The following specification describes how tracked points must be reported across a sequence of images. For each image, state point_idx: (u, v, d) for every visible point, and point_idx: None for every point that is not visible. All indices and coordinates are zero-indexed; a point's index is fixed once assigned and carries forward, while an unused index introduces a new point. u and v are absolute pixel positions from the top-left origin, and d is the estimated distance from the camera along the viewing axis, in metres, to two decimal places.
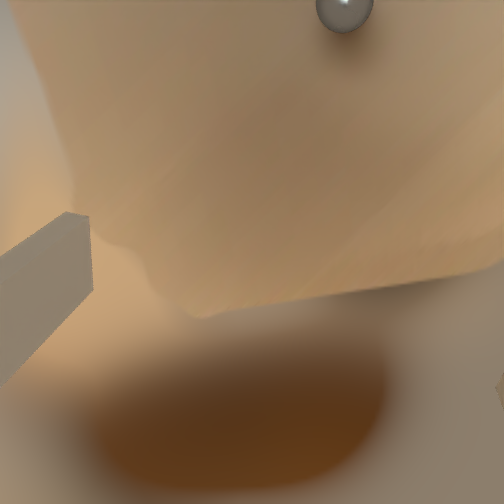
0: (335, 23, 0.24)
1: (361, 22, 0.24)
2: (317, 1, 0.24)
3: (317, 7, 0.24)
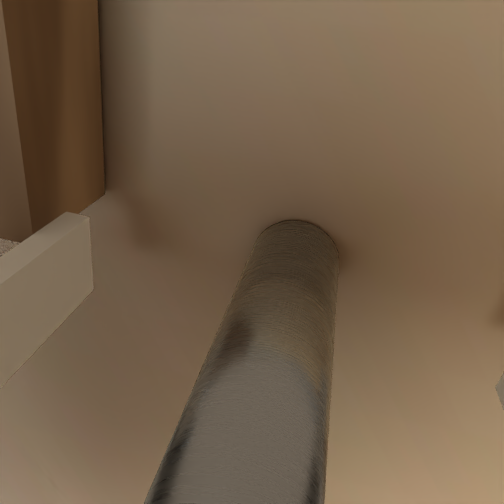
0: None
1: None
2: None
3: None
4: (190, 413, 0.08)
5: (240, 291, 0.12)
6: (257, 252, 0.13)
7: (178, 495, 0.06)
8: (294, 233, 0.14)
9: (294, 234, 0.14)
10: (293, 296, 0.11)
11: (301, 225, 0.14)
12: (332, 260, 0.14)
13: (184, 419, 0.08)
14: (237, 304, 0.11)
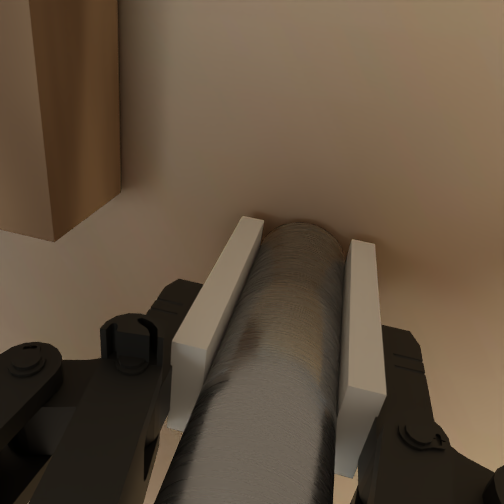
0: None
1: None
2: None
3: None
4: (198, 416, 0.08)
5: (247, 293, 0.12)
6: (263, 254, 0.13)
7: (188, 500, 0.06)
8: (300, 235, 0.14)
9: (300, 236, 0.14)
10: (300, 298, 0.11)
11: (307, 228, 0.14)
12: (338, 262, 0.14)
13: (192, 422, 0.08)
14: (244, 306, 0.11)
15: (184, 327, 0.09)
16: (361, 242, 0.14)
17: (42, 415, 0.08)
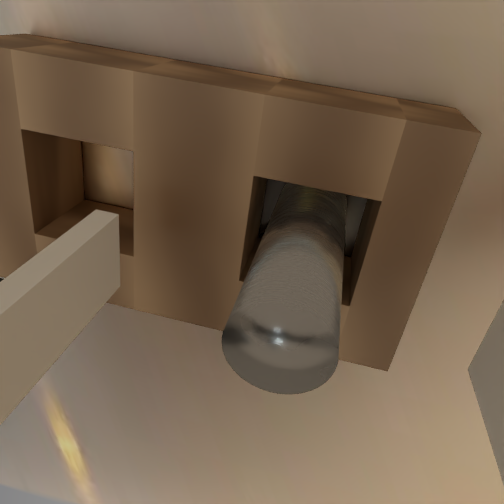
0: (313, 375, 0.11)
1: (329, 335, 0.11)
2: (263, 387, 0.12)
3: (273, 391, 0.12)
4: (254, 270, 0.13)
5: (276, 213, 0.16)
6: (286, 192, 0.18)
7: (256, 296, 0.11)
8: None
9: None
10: (315, 212, 0.15)
11: None
12: (342, 199, 0.18)
13: (250, 274, 0.13)
14: (275, 219, 0.16)
15: None
16: None
17: None
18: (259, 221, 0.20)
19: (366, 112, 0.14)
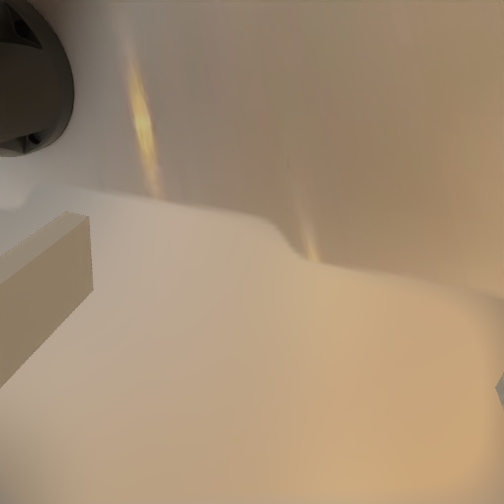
0: None
1: None
2: None
3: None
4: None
5: None
6: None
7: None
8: None
9: None
10: None
11: None
12: None
13: None
14: None
15: None
16: None
17: None
18: None
19: None
